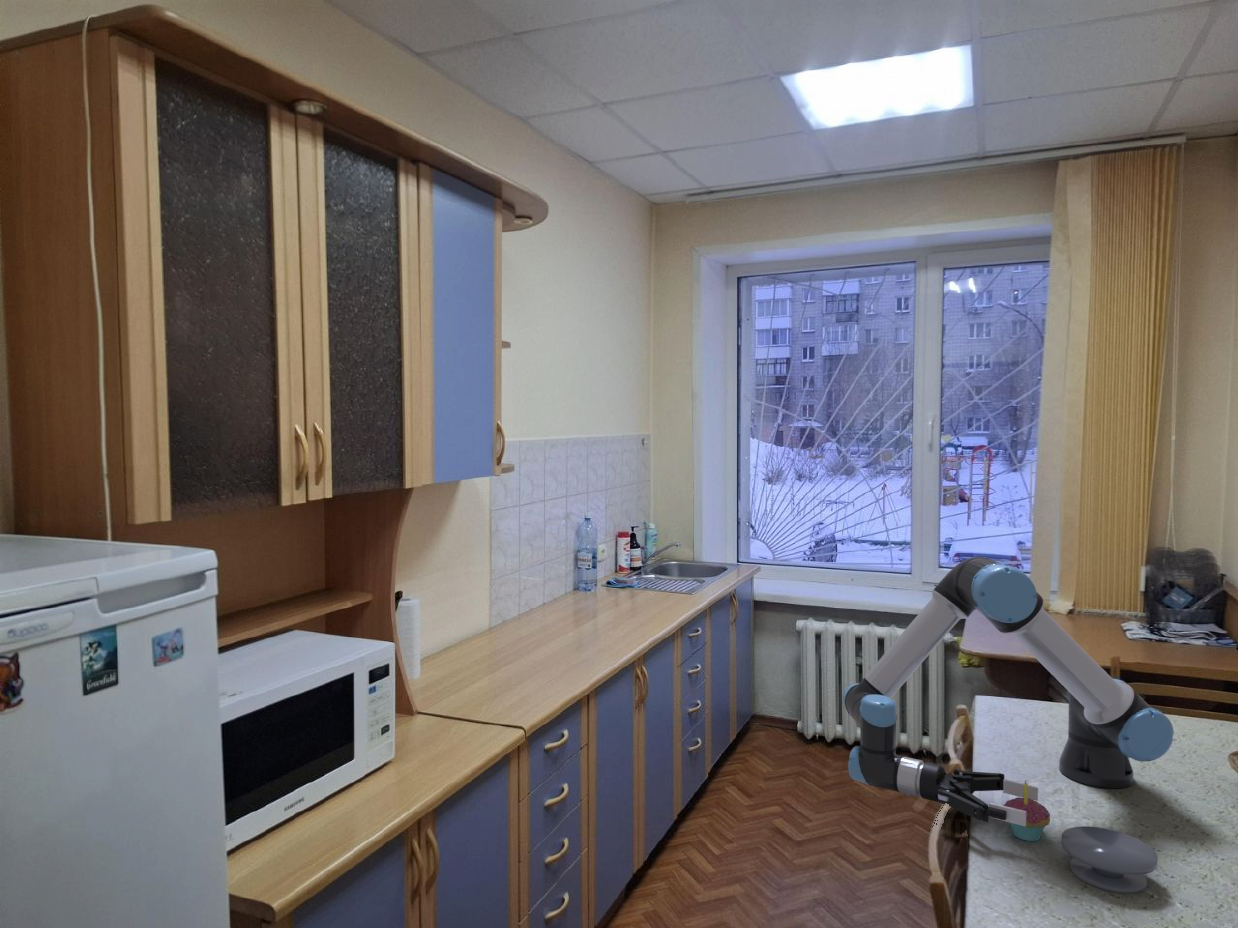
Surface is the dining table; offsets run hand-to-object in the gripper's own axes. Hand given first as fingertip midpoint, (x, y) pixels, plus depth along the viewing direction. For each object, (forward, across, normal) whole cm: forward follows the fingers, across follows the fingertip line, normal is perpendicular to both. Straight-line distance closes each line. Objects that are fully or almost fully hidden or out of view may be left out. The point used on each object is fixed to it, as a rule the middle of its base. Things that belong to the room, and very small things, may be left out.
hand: (1032, 805), depth 162 cm
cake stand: (+14, +7, -6) cm, 17 cm away
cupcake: (-1, 0, -7) cm, 7 cm away
